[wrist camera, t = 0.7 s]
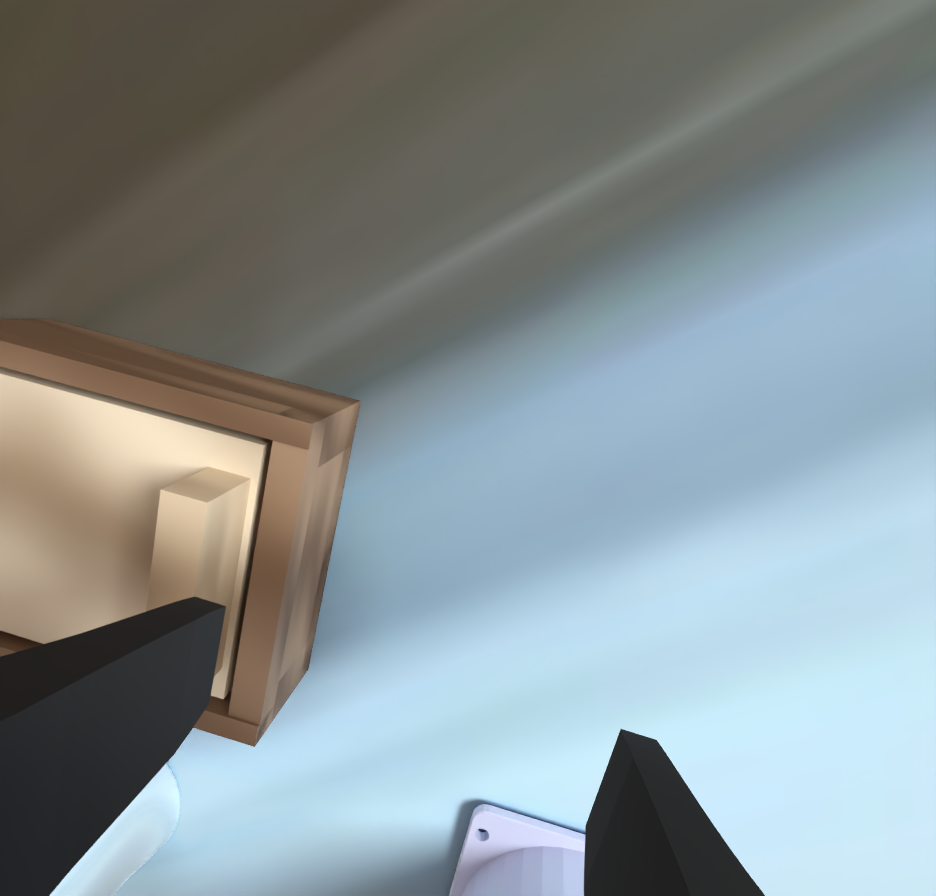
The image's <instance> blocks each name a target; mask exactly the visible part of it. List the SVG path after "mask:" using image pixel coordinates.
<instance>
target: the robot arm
mask: <svg viewBox="0 0 936 896" xmlns="http://www.w3.org/2000/svg"><path fill="white" fill-rule="evenodd" d="M225 610H226V606H224V605H221V604H217V603H214V602H211V601H208V600H205V599H201V598H198V597H191V598H187V599H183V600H180V601H176V602H173V603H170V604H167V605H164V606H161V607H158V608H155V609H152V610H149V611H146V612H143V613H140V614H137V615H134V616H131V617H128V618H125V619H122V620H119V621H116V622H113V623H110V624H107V625H104V626H101V627H98V628H95V629H92V630H89V631H86V632H83V633H80V634H77V635H73V636H70V637H66V638H63V639H60V640H56V641H53V642H49V643H46V644H43V645H39V646H36V647H32V648H29V649H26V650H22V651H19V652H15V653H12V654H8V655H4V656H0V896H50V894H51V893H52V892H53V891H54V890H55V888H56V887H57V886H58V885H59V884H60V882H61V881H62V880H63V879H64V878H65V876H66V875H67V874H68V873H69V872H70V870H71V869H72V868H73V867H74V866H75V865H76V864H77V862H78V861H79V860H80V859H81V858H82V857H83V856H84V855H85V854H86V852H87V851H88V850H89V849H90V848H91V847H92V846H93V845H94V844H95V842H96V841H97V840H98V839H99V838H100V837H101V836H102V835H103V833H104V832H105V831H106V830H107V829H108V828H109V827H110V826H111V825H112V823H113V822H114V821H115V820H116V819H117V818H118V817H119V816H120V815H121V813H122V812H123V811H124V810H125V809H126V808H127V807H128V806H129V805H130V803H131V802H132V801H133V800H134V799H135V798H136V797H137V796H138V794H139V793H140V792H141V791H142V790H143V789H144V788H145V787H146V785H147V784H148V783H149V782H150V781H151V780H152V779H153V778H154V776H155V775H156V774H157V773H158V772H159V771H160V770H161V768H162V767H163V766H164V765H165V764H166V763H167V762H168V760H169V759H170V758H171V757H172V756H173V755H174V753H175V752H176V751H177V749H178V748H179V747H180V745H181V744H182V742H183V741H184V740H185V738H186V737H187V735H188V734H189V733H190V731H191V730H192V728H193V727H194V725H195V724H196V722H197V721H198V719H199V718H200V716H201V715H202V713H203V712H204V710H205V709H206V708H207V706H208V705H209V703H210V697H211V691H212V685H213V679H214V674H215V668H216V662H217V656H218V651H219V645H220V639H221V633H222V627H223V622H224V616H225ZM478 829H484V830H486V831H487V832H480V831H479V830H478ZM449 896H765V895H764V894H763V892H762V891H761V890H760V888H759V887H758V886H757V885H756V883H755V882H754V881H753V879H752V878H751V877H750V875H749V874H748V873H747V871H746V870H745V869H744V867H743V866H742V865H741V863H740V862H739V860H738V859H737V858H736V856H735V855H734V854H733V852H732V851H731V849H730V848H729V847H728V845H727V844H726V842H725V841H724V840H723V838H722V837H721V835H720V834H719V832H718V831H717V829H716V828H715V827H714V825H713V824H712V822H711V821H710V819H709V818H708V816H707V815H706V813H705V812H704V810H703V809H702V807H701V806H700V804H699V803H698V801H697V800H696V798H695V797H694V795H693V794H692V792H691V791H690V789H689V788H688V786H687V785H686V783H685V782H684V780H683V779H682V777H681V776H680V774H679V773H678V771H677V770H676V768H675V767H674V765H673V764H672V762H671V760H670V759H669V757H668V756H667V754H666V753H665V752H664V750H663V749H662V747H661V746H660V744H659V743H658V742H657V740H655V739H651V738H648V737H645V736H642V735H639V734H635V733H632V732H629V731H626V730H623V729H621V730H620V733H619V735H618V738H617V741H616V744H615V746H614V749H613V752H612V755H611V757H610V760H609V763H608V766H607V769H606V771H605V774H604V777H603V780H602V782H601V785H600V788H599V791H598V793H597V796H596V799H595V802H594V804H593V807H592V810H591V813H590V815H589V818H588V821H587V824H586V833H585V834H581V833H578V832H575V831H572V830H568V829H565V828H562V827H559V826H556V825H552V824H549V823H546V822H543V821H540V820H536V819H533V818H530V817H527V816H524V815H520V814H517V813H514V812H511V811H507V810H504V809H501V808H498V807H495V806H491V805H487V804H483V805H479V806H477V807H476V808H475V809H474V811H473V813H472V817H471V820H470V824H469V827H468V830H467V834H466V837H465V841H464V844H463V848H462V851H461V855H460V858H459V862H458V865H457V868H456V872H455V875H454V879H453V882H452V886H451V889H450V893H449Z"/></svg>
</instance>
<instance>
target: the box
mask: <svg viewBox="0 0 936 896" xmlns="http://www.w3.org/2000/svg"><path fill="white" fill-rule="evenodd" d="M0 366H1V367H4V368H8V369H12V370H15V371H19V372H23V373H26V374H30V375H34V376H38V377H41V378H45V379H49V380H52V381H56V382H60V383H63V384H67V385H71V386H74V387H78V388H82V389H85V390H89V391H93V392H97V393H100V394H104V395H108V396H111V397H115V398H119V399H122V400H126V401H130V402H133V403H137V404H141V405H144V406H148V407H152V408H156V409H159V410H163V411H167V412H170V413H174V414H178V415H181V416H185V417H189V418H192V419H196V420H200V421H203V422H207V423H211V424H214V425H218V426H222V427H226V428H229V429H233V430H237V431H240V432H244V433H248V434H251V435H255V436H259V437H262V438H266V439H270V440H273V442H272V448H271V454H270V460H269V466H268V473H267V479H266V485H265V491H264V497H263V503H262V509H261V515H260V522H259V528H258V534H257V540H256V546H255V552H254V558H253V564H252V571H251V577H250V583H249V589H248V595H247V601H246V607H245V614H244V620H243V626H242V632H241V638H240V644H239V650H238V656H237V663H236V669H235V675H234V681H233V687H232V690H231V691H230V692H229V693H228V694H227V696H226V697H225V698H224V699H221V698H218V697H214V696H211V697H210V703H209V705H208V706H207V708H206V709H205V710H204V712H203V713H202V715H201V716H200V718H199V719H198V721H197V722H196V724H195V725H194V727H193V728H197V729H200V730H203V731H206V732H209V733H212V734H216V735H219V736H222V737H225V738H228V739H232V740H235V741H238V742H241V743H244V744H248V745H251V746H254V747H255V745H256V744H257V743H258V741H259V740H260V738H261V737H262V735H263V734H264V732H265V731H266V730H267V728H268V727H269V725H270V724H271V722H272V721H273V719H274V718H275V716H276V715H277V714H278V712H279V711H280V709H281V708H282V706H283V705H284V703H285V702H286V701H287V699H288V698H289V696H290V695H291V693H292V692H293V690H294V689H295V687H296V686H297V685H298V683H299V682H300V680H301V679H302V677H303V676H304V674H305V673H306V671H307V670H308V667H309V662H310V657H311V652H312V647H313V641H314V636H315V631H316V626H317V621H318V616H319V611H320V606H321V601H322V596H323V590H324V585H325V580H326V575H327V570H328V565H329V560H330V555H331V550H332V545H333V539H334V534H335V529H336V524H337V519H338V514H339V509H340V504H341V499H342V494H343V488H344V483H345V478H346V473H347V468H348V463H349V458H350V453H351V448H352V443H353V437H354V432H355V427H356V422H357V417H358V412H359V407H360V402H361V401H358V400H354V399H351V398H347V397H343V396H339V395H335V394H332V393H328V392H324V391H320V390H316V389H313V388H309V387H305V386H301V385H297V384H294V383H290V382H286V381H282V380H278V379H275V378H271V377H267V376H263V375H259V374H255V373H252V372H248V371H244V370H240V369H236V368H233V367H229V366H225V365H221V364H217V363H214V362H210V361H206V360H202V359H198V358H195V357H191V356H187V355H183V354H179V353H176V352H172V351H168V350H164V349H160V348H157V347H153V346H149V345H145V344H141V343H138V342H134V341H130V340H126V339H122V338H119V337H115V336H111V335H107V334H103V333H99V332H96V331H92V330H88V329H84V328H80V327H77V326H73V325H69V324H65V323H61V322H58V321H54V320H50V319H12V320H0ZM39 645H43V643H39V642H36V641H33V640H30V639H26V638H23V637H20V636H17V635H13V634H10V633H7V632H4V631H0V656H4V655H8V654H12V653H15V652H19V651H22V650H26V649H29V648H32V647H36V646H39Z"/></svg>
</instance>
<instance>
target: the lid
mask: <svg viewBox="0 0 936 896" xmlns="http://www.w3.org/2000/svg"><path fill="white" fill-rule="evenodd" d="M272 442H273V440H270V439H266V438H262V437H259V436H255V435H251V434H248V433H244V432H240V431H237V430H233V429H229V428H226V427H222V426H218V425H214V424H211V423H207V422H203V421H200V420H196V419H192V418H189V417H185V416H181V415H178V414H174V413H170V412H167V411H163V410H159V409H156V408H152V407H148V406H144V405H141V404H137V403H133V402H130V401H126V400H122V399H119V398H115V397H111V396H108V395H104V394H100V393H97V392H93V391H89V390H85V389H82V388H78V387H74V386H71V385H67V384H63V383H60V382H56V381H52V380H49V379H45V378H41V377H38V376H34V375H30V374H26V373H23V372H19V371H15V370H12V369H8V368H4V367H1V366H0V631H4V632H7V633H10V634H13V635H17V636H20V637H23V638H26V639H30V640H33V641H36V642H39V643H43V644H46V643H49V642H53V641H56V640H60V639H63V638H66V637H70V636H73V635H77V634H80V633H83V632H86V631H89V630H92V629H95V628H98V627H101V626H104V625H107V624H110V623H113V622H116V621H119V620H122V619H125V618H128V617H131V616H134V615H137V614H140V613H143V612H146V611H149V610H152V609H155V608H158V607H161V606H164V605H167V604H170V603H173V602H176V601H180V600H183V599H187V598H191V597H198V598H201V599H205V600H208V601H211V602H214V603H217V604H221V605H224V606H226V610H225V616H224V622H223V627H222V633H221V639H220V645H219V651H218V656H217V662H216V668H215V674H214V679H213V685H212V691H211V696H214V697H218V698H221V699H224V698H225V697H226V696H227V694H228V693H229V692H230V691H231V690H232V687H233V681H234V675H235V669H236V663H237V656H238V650H239V644H240V638H241V632H242V626H243V620H244V614H245V607H246V601H247V595H248V589H249V583H250V577H251V571H252V564H253V558H254V552H255V546H256V540H257V534H258V528H259V522H260V515H261V509H262V503H263V497H264V491H265V485H266V479H267V473H268V466H269V460H270V454H271V448H272Z"/></svg>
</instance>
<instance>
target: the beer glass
mask: <svg viewBox="0 0 936 896" xmlns="http://www.w3.org/2000/svg"><path fill="white" fill-rule="evenodd" d="M180 808H181V803H180V794H179V789H178V785H177V782H176V780H175V777H174V775H173V773H172V771H171V769H170V768H169V766H168V764H167V763H166V764H165V765H164V766H163V767H162V768H161V770H160V771H159V772H158V773H157V774H156V775H155V776H154V778H153V779H152V780H151V781H150V782H149V783H148V784H147V785H146V787H145V788H144V789H143V790H142V791H141V792H140V793H139V794H138V796H137V797H136V798H135V799H134V800H133V801H132V802H131V803H130V805H129V806H128V807H127V808H126V809H125V810H124V811H123V812H122V813H121V815H120V816H119V817H118V818H117V819H116V820H115V821H114V822H113V823H112V825H111V826H110V827H109V828H108V829H107V830H106V831H105V832H104V833H103V835H102V836H101V837H100V838H99V839H98V840H97V841H96V842H95V844H94V845H93V846H92V847H91V848H90V849H89V850H88V851H87V852H86V854H85V855H84V856H83V857H82V858H81V859H80V860H79V861H78V862H77V864H76V865H75V866H74V867H73V868H72V869H71V870H70V872H69V873H68V874H67V875H66V876H65V878H64V879H63V880H62V881H61V882H60V884H59V885H58V886H57V887H56V888H55V890H54V891H53V892H52V893H51V894H50V896H113V895H114V894H115V893H116V892H117V891H118V889H119V888H120V887H121V886H122V885H123V884H124V883H125V882H126V881H127V880H128V879H129V878H130V877H131V876H132V875H133V874H134V873H135V872H136V871H137V870H138V869H139V868H140V867H141V866H142V865H143V864H144V863H146V862H147V861H148V860H149V859H150V858H151V857H152V856H153V855H154V854H155V853H156V852H157V851H158V850H159V849H160V848H161V847H162V846H163V845H164V844H165V843H166V842H167V840H168V839H169V838H170V837H171V835H172V834H173V832H174V830H175V828H176V826H177V823H178V820H179V816H180Z"/></svg>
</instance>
